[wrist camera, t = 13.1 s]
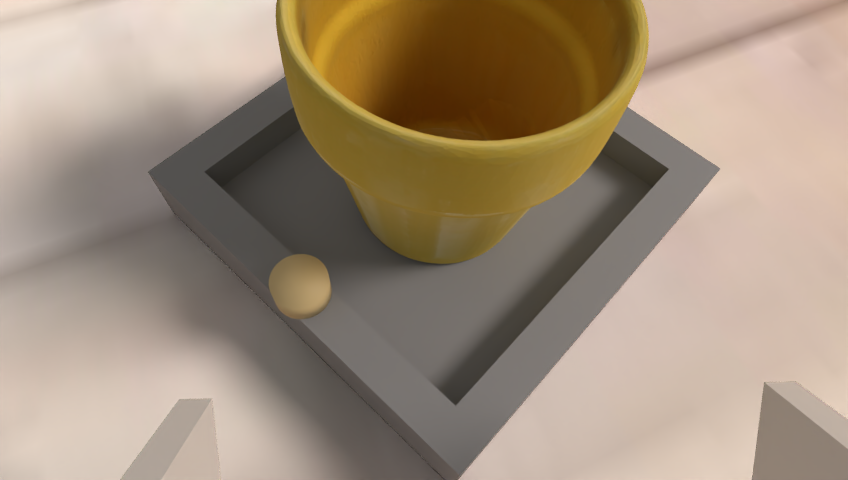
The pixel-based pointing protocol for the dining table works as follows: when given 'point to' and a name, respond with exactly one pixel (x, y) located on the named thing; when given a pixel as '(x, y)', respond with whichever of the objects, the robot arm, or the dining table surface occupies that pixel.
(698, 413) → the dining table surface
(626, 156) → the base
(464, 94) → the plant pot
